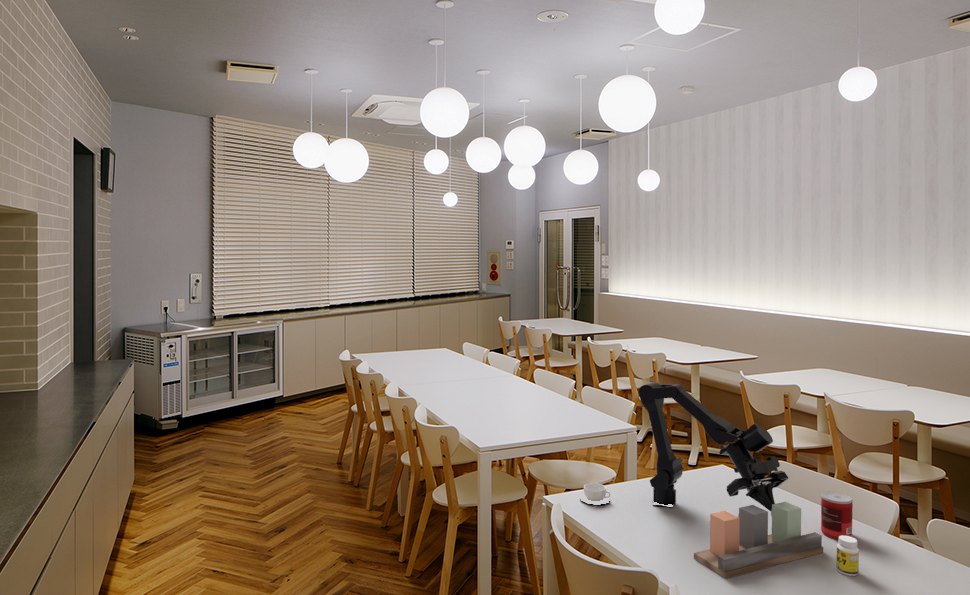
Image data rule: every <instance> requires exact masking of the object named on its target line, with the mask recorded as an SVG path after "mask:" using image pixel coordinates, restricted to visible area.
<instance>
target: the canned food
mask: <svg viewBox="0 0 970 595" xmlns="http://www.w3.org/2000/svg"><path fill="white" fill-rule="evenodd" d="M820 498H821V499H820V508H821V510H820V512H821V514H820V517H821V518H820V530H821V532H822V534H823V535H824V536H826V537H828V538H830V539H834V540H839V536H842V535H844V536H850V537H853V508H854V507H853V502H854V501H853V498H852V497H851V496H850V495H847V494H845V493H842V492H838V491H837V492H836V491H824V492H822V493H821V497H820Z"/></svg>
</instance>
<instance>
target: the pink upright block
mask: <svg viewBox="0 0 970 595" xmlns="http://www.w3.org/2000/svg"><path fill="white" fill-rule="evenodd" d="M709 549H710V551H711V552H712V553H714V554H716V555H718V556H721V555H725V554H729V553H733V552H737V551H739V517H738V516H736V515H734V514H732V513H730V512H728V511H726V510H722V511H717V512H713V513H710V514H709Z"/></svg>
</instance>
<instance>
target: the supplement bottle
mask: <svg viewBox="0 0 970 595" xmlns="http://www.w3.org/2000/svg"><path fill="white" fill-rule="evenodd" d="M837 540H838V539H837ZM859 561H860V550H859V548H858V540H857V538H854V537H853V536H851V537H850V536H844V535H842V536H839V540H838V543H837V545H836V564H835V566H836V570H837V571H838V573H840V574H843V575H845V576H848V577H854V576H855V577H856V576H858V575H859V572H860V571H859V565H860V562H859Z"/></svg>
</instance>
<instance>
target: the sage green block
mask: <svg viewBox="0 0 970 595" xmlns="http://www.w3.org/2000/svg"><path fill="white" fill-rule="evenodd" d="M770 516H771V534H772V541H774V542H777V541H781V540H785V539H789V538H794V537H798V536H802V507H799V506H797V505H795V504H792V503H790V502H787V501H781V502H777V503H775V504H772V510H771V511H770Z"/></svg>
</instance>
